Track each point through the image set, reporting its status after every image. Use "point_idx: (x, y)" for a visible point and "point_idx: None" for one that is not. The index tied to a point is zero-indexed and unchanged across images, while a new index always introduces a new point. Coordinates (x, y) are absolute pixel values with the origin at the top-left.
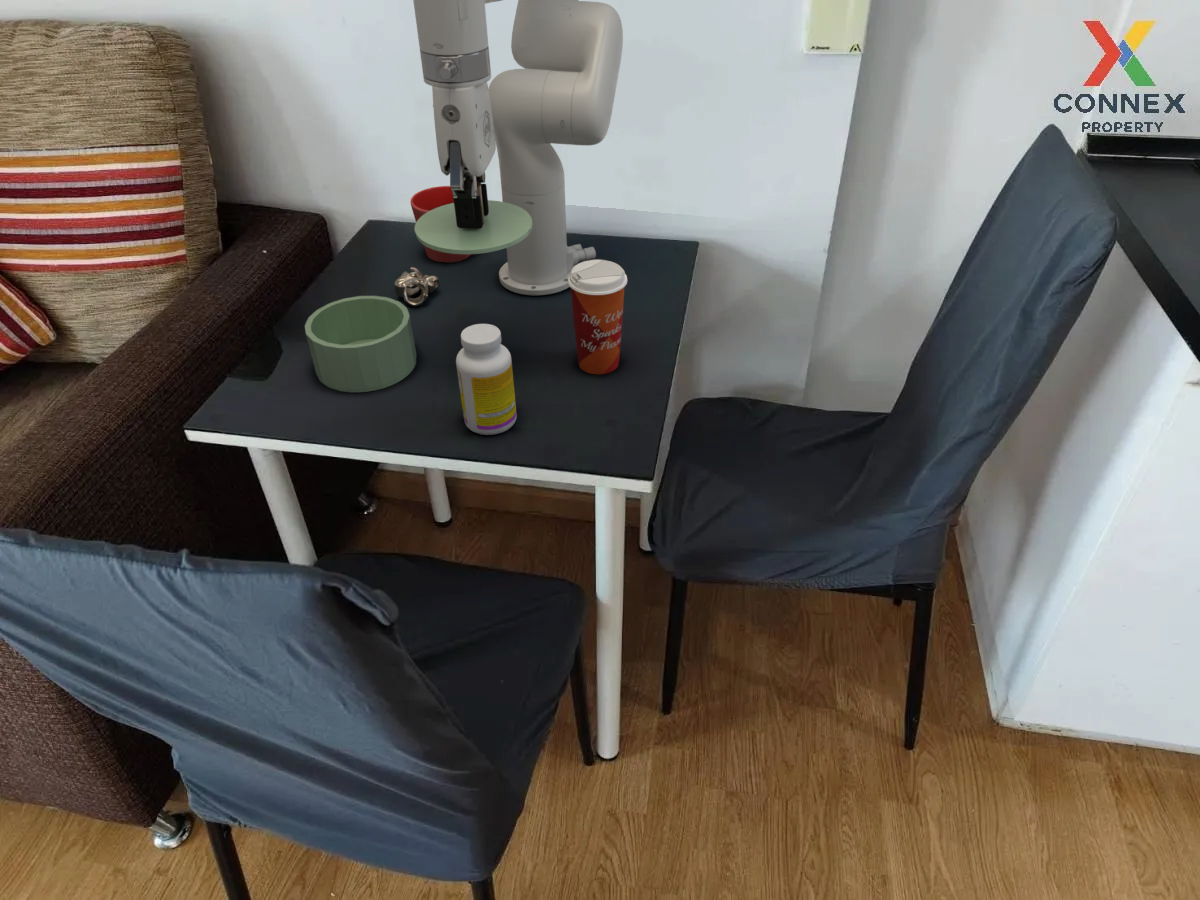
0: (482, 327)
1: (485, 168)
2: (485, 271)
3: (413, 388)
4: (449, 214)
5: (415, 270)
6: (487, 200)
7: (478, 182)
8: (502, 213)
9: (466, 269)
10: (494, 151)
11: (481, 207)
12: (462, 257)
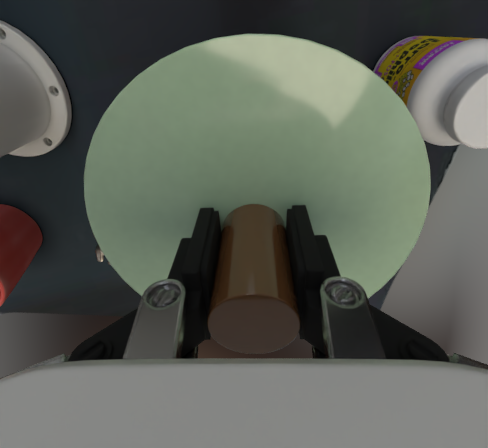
0: (474, 111)
1: (415, 378)
2: (32, 175)
3: None
4: None
5: (101, 255)
6: (198, 231)
7: (226, 305)
8: (169, 168)
9: (41, 200)
10: (62, 374)
11: (301, 239)
12: (19, 212)
